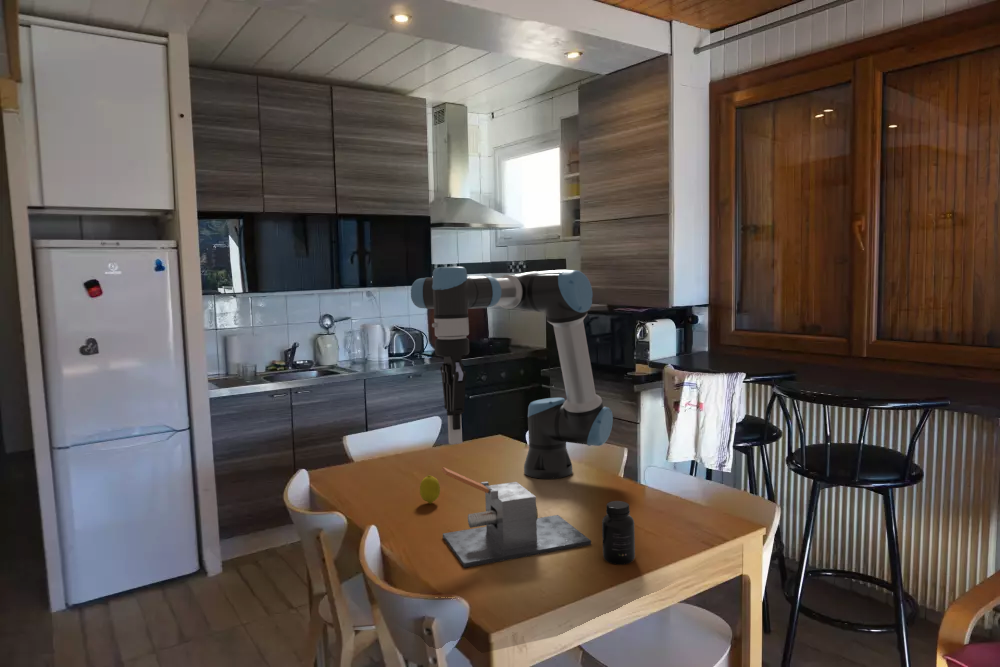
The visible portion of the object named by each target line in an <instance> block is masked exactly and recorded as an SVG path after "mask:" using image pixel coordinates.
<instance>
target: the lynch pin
mask: <svg viewBox="0 0 1000 667" xmlns="http://www.w3.org/2000/svg"><path fill="white" fill-rule="evenodd" d="M538 516H539V514H538V507H537V506H536V521H537V518H539V517H538ZM467 524H468V527H469V528H470V529H473V528H479V527H486V525H491V524H497V510H492V511H486V510H485V511H481V512H474V513H468V515H467Z"/></svg>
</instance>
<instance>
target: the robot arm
mask: <svg viewBox="0 0 1000 667" xmlns="http://www.w3.org/2000/svg"><path fill="white" fill-rule="evenodd" d="M593 294H594V292H593V288H592V284H591V282H590V280H589V278H588V276H587V275H586V274H585V273H583V272H582V271H580V270H578V269H577V270H576V269H555V270H553V269H552V270H540V271H539V270H538V271H537V270H534V271H527V272H522V273H516V274H505V275H502V276H501V277H499V278H498V277H494V276H490V275H486V274H483V275H468V272H467V268H465V266H441V267H440V266H439V267H435V268H434V269H433V271H432V277H421V278H417V279H416V280H414V282H413V283H412V285H411V287H410V299H411V301H412V303H413V305H414V306H415V307H417V308H418V309H426V310H430V309H431V310H432V309H433V321H434V322H432V324H431V327H432V328H434V337H437V338H435V340H434V353H435V355H436V356H437V357H443V363H442V364H441V365H440V368H439V370H440V373H441V374H440V375H441V381H442V382H441V383H442V391H443V392H442V393H443V404H444V409H445V410H446V416H447V429H448V430H447V432H448V433H447V435H448V444H449V445H457V444H458V445H459V444H463V428H462V422H463V421H462V414H464V413H465V402H466V401H465V399H466V381H467V371H465V366H464V365H465V364H464V363H463V362H462V357H463V356H468V355H469V353H470V339H469V337H467V336H469V334H470V323H469V322H470V321H469V311H468V310H469V309H474V310H475V309H487V308H492V307H501V308H503V309H505V310H521V311H527V312H535V313H536V312H537V313H542V312H543V313H545V316H546V322H548V323H549V324H550V325H552V326H553V332H554V335H555V336H554V337H555V342H556V348H557V351H558V358H559V364H560V368H561V372H562V373H561V374H562V381H563V385H564V389H565V395H566V399H565V398H564V397H548V398H542V399H537V400H533V401H531V402H530V403H529V405H528V407H527V426H528V431H527V432H528V452H527V454H526V457H525V462H524V464H523V471H524V472H523V473H524V474H525V476H528V477H530V478H534V479H541V480H551V479H561V478H565V477H568V476H570V475H571V474H573V463H572V460H571V458H570V455H569V452H568V449H567V443H570V444H578V445H587V446H588V447H590V446H594V447H596V446H597V447H599V446H602V445H604V444H605V443H606V442H607V441H608V440H609V438H610V435H611V432H612V427H613V424H614V423H613V422H614V421H613V419H614V416H613V411H612V410H611V408H610V407H608V406H604V403H603V400H602V397H601V396H600V395H599V394H596V393H597V392H596V389H595V388H596V387H595V383H594V382H595V381H594V376H593V369H592V364H591V359H590V358H591V357H590V353H589V347H588V341H587V335H586V329H585V324H584V319H585V318H586V317H587V316H588V311H589V310H591V307H592V304H593V296H594V295H593Z"/></svg>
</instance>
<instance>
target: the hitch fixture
mask: <svg viewBox="0 0 1000 667" xmlns="http://www.w3.org/2000/svg"><path fill="white" fill-rule="evenodd" d="M480 484H483V485H484V486H486V485H487V486H489V487H490V488H491V489H492V490H491V491H490V494H488V493H486V492H484V495H485V497H484V498H485V500H484V501H485V512H486V511H492V510H497V524H491V525H485V526H479V527H473V528H470V529H462V530H457V531H450V532H445V533H444V532H443V533H442V538H443V540H444V541H445V543H446V544H447V545H448V547H449V548H450V550H451V552H452V553H453V554H454V556H455V557H456V558H457V560H458V561H459V563H460V564H461V565H462V566H463V568H464V569H466V568H470V567H476V566H481V565H488V564H493V563H499V562H503V561H504V562H505V561H510V560H515V559H521V558H525V557H531V556H536V555H538V556H539V555H541V554H547V553H553V552H559V551H565V550H569V549H570V550H571V549H576V548H580V547H581V548H582V547H585V546H591V545H592V540H591V539H590V538H589V537H588V536H586V535H584V534H583V533H582V532H581V531H580V530H578V529H577V528H576V527H574V526H573V525H572V524H570V523H569V522H568V521H567V520H565V519H564V518H563V517H561V516H560V515H559V514H556V515H555V514H554V515H549V516H543V517H542V516H541V517H538V518H537V521H536V507H537V498H536V495H534V493H531V492H530V491H529V490H528V489H527V488H526V487H524V485H521V484H520V483H519V482H517V481H511V482H505V483H497V484H491V485H489V482H488V481H481V482H480Z"/></svg>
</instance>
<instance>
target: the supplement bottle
mask: <svg viewBox="0 0 1000 667" xmlns="http://www.w3.org/2000/svg"><path fill="white" fill-rule="evenodd" d="M605 506H606V509H605V510H606V511H605V513H606V514H605V515H604V516H603V518H602V521H601V524H602V525H601V526H602V527H601V528H602V529H601V531H602V535H601V536H602V556H603V559H604V561H606V562H607V563H609V564H612V565H620V566H621V565H622V566H623V565H627V564H630V563H633V562H634V560H635V559H636V544H635V543H636V540H635V538H636V536H635V520H634V518H633V517H632V515H630V513H631V511H630V504H629V503H628V502H625V501H621V500H614V501H613V500H612V501H609V502H607V503H606V505H605Z"/></svg>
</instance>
